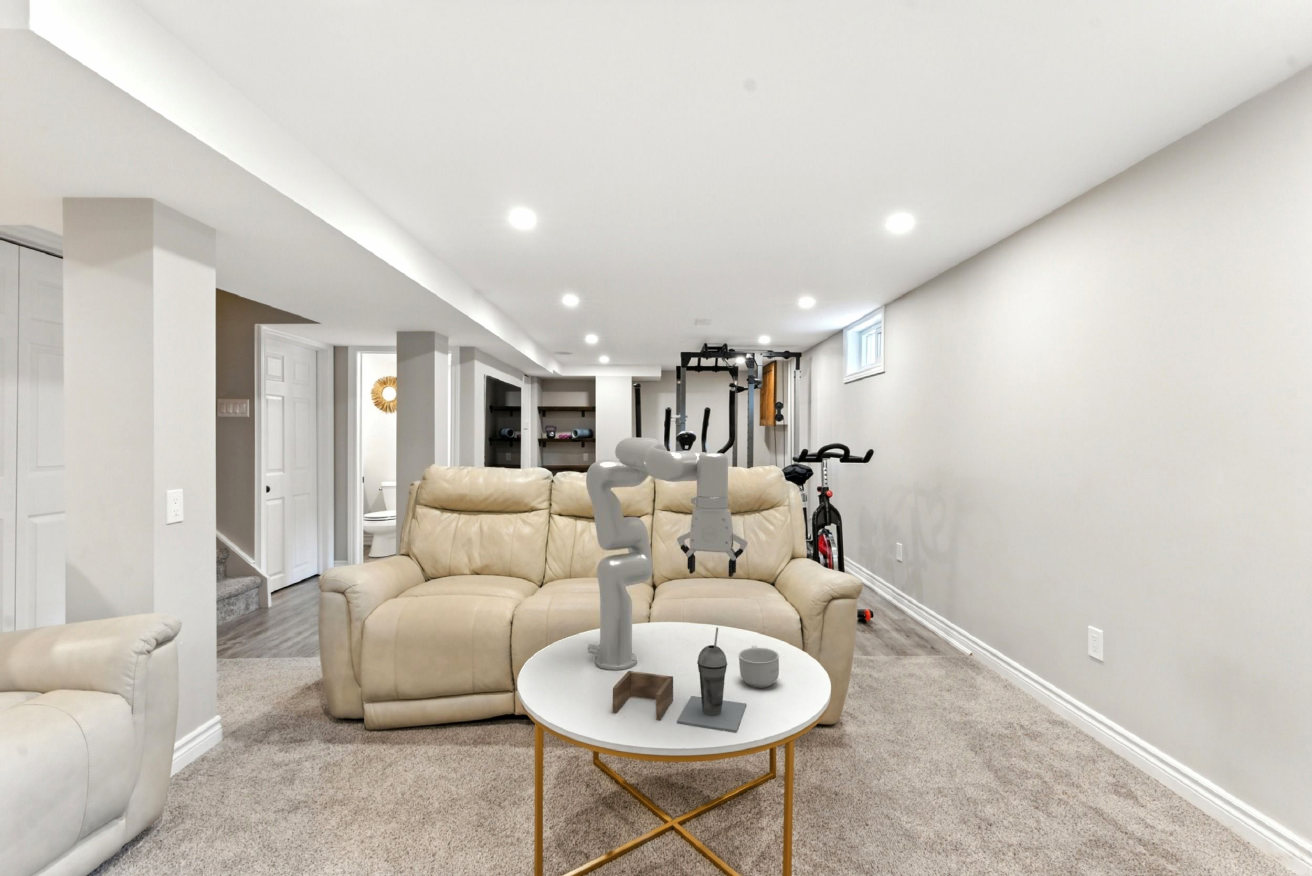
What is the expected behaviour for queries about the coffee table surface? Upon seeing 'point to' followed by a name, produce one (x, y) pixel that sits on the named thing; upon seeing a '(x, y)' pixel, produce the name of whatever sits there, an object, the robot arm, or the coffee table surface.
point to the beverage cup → (712, 677)
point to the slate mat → (723, 721)
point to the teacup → (759, 666)
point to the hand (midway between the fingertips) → (711, 574)
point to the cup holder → (644, 690)
